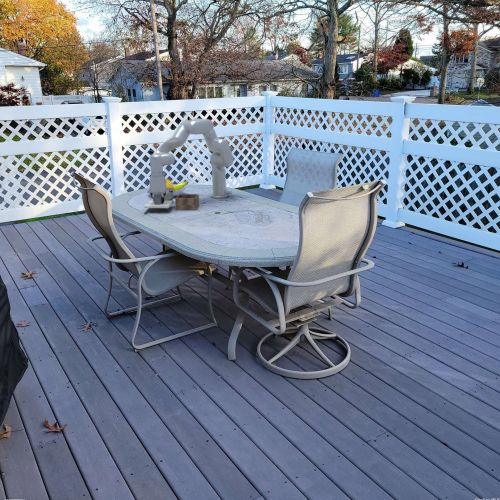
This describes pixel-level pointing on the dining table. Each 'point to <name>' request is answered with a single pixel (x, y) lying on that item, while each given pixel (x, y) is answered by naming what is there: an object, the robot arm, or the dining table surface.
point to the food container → (168, 195)
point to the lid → (158, 203)
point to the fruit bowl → (175, 187)
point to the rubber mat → (158, 210)
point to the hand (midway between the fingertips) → (159, 202)
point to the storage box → (187, 201)
